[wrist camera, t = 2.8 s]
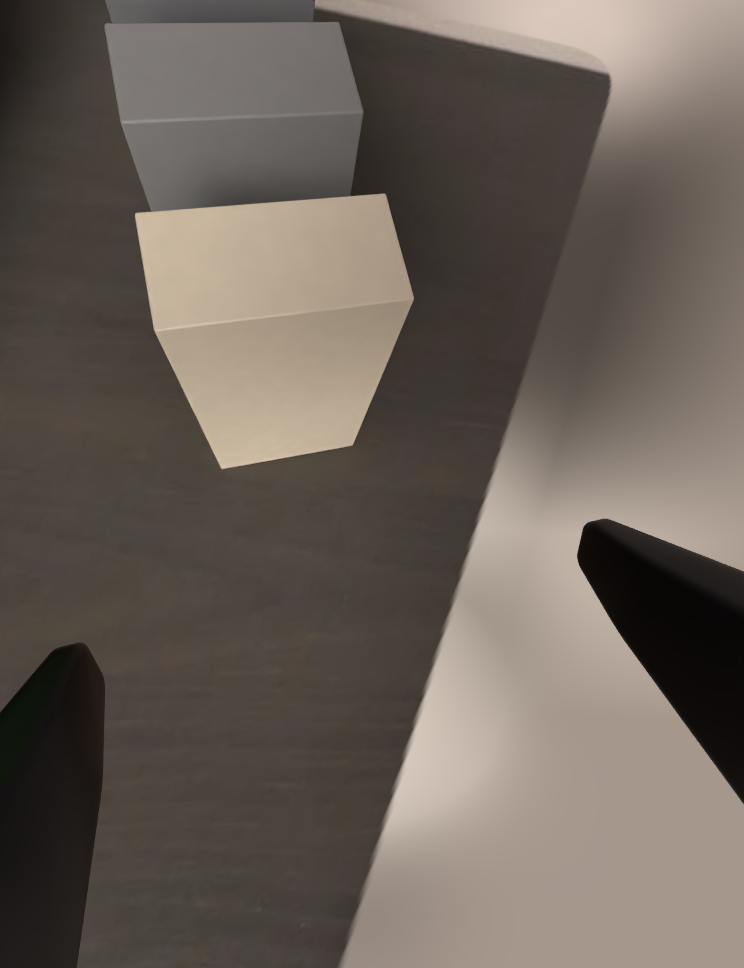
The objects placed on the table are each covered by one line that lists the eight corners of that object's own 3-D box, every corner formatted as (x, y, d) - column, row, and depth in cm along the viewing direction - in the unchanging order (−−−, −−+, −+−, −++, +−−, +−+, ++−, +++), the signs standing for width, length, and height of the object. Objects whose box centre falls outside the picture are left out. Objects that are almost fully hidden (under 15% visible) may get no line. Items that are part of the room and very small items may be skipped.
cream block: (352, 445, 24) (415, 299, 12) (221, 469, 23) (153, 330, 11) (339, 386, 24) (385, 192, 13) (209, 406, 23) (133, 212, 12)
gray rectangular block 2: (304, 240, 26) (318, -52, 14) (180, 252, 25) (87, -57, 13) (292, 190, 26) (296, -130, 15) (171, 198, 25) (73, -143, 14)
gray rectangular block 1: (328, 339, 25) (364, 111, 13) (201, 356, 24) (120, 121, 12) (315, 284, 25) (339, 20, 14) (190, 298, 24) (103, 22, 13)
